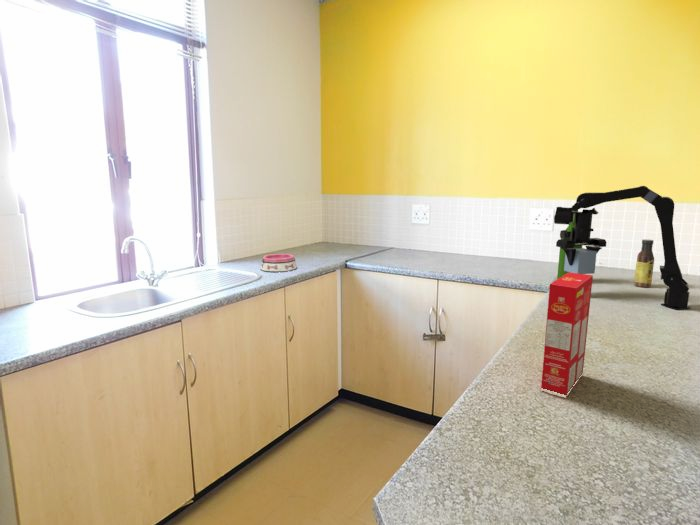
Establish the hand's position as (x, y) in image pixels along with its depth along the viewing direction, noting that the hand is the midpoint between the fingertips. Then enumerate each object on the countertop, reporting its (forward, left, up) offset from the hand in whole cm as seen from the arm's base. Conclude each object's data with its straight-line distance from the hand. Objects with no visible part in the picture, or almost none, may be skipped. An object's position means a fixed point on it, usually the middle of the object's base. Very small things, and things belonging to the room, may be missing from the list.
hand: (579, 264), depth 181 cm
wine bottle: (+20, -12, -12) cm, 26 cm away
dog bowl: (+80, +111, -13) cm, 138 cm away
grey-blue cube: (0, 0, -3) cm, 3 cm away
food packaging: (-66, +58, -12) cm, 89 cm away
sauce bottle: (+4, -36, -12) cm, 38 cm away
